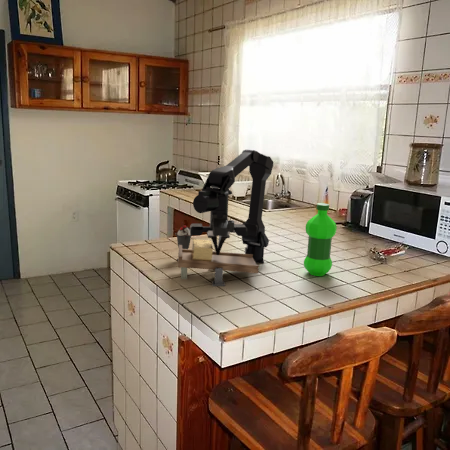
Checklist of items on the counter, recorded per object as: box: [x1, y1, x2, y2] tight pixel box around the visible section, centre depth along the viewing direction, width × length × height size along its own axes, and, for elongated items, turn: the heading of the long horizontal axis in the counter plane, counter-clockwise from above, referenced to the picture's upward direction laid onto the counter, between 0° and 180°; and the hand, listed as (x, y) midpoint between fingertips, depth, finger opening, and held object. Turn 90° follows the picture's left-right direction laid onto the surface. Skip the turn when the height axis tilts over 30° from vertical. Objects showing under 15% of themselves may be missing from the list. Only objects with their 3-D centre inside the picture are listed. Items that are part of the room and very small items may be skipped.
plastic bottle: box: [303, 202, 338, 277], centre depth 158 cm, size 10×10×25 cm
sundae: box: [174, 221, 193, 262], centre depth 169 cm, size 7×7×15 cm
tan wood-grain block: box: [191, 238, 214, 261], centre depth 152 cm, size 6×10×5 cm, turn 6°
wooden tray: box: [177, 245, 260, 274], centre depth 153 cm, size 26×15×4 cm, turn 96°
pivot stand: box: [180, 267, 226, 287], centre depth 153 cm, size 14×19×6 cm
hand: (217, 254), depth 153 cm, fingers closed
